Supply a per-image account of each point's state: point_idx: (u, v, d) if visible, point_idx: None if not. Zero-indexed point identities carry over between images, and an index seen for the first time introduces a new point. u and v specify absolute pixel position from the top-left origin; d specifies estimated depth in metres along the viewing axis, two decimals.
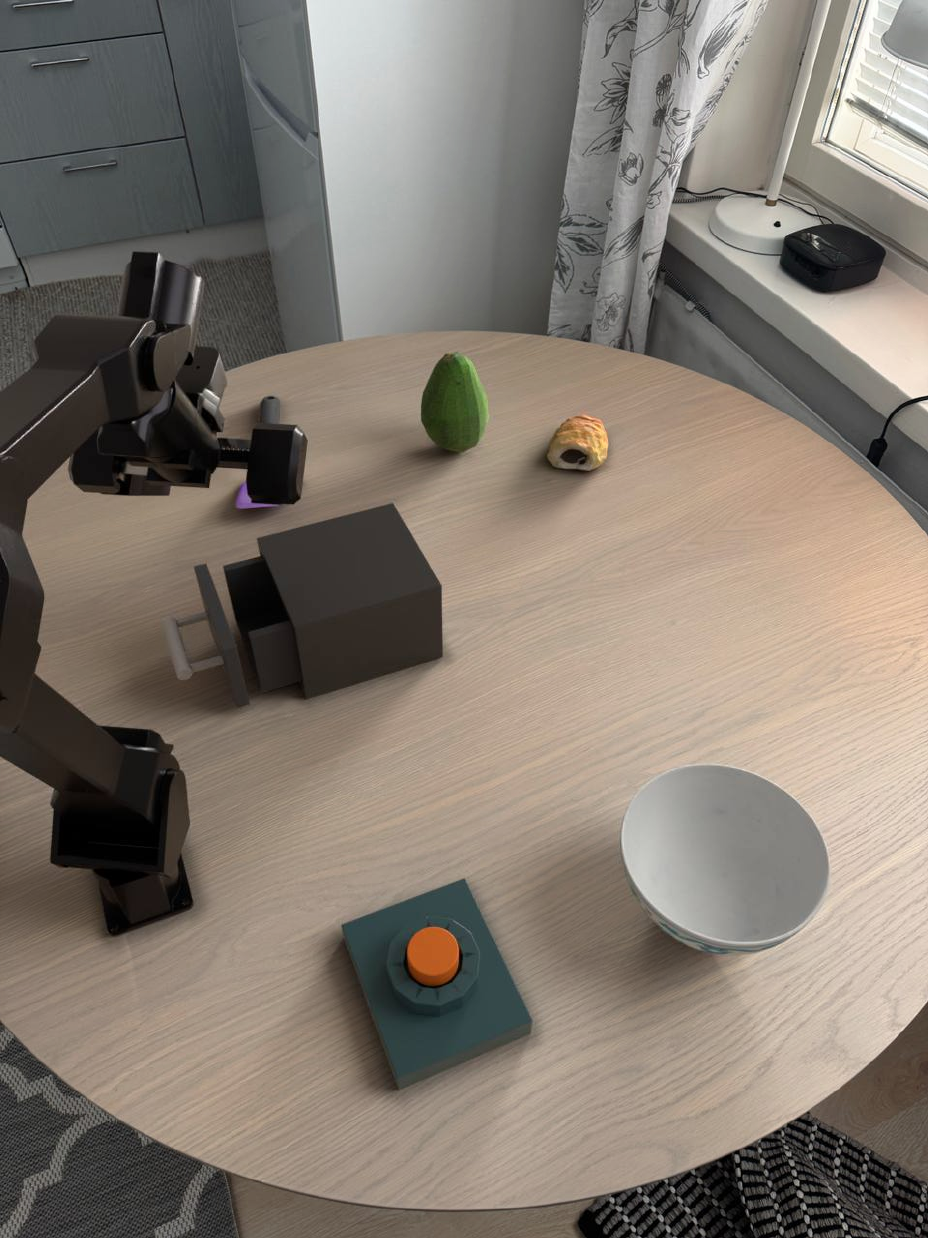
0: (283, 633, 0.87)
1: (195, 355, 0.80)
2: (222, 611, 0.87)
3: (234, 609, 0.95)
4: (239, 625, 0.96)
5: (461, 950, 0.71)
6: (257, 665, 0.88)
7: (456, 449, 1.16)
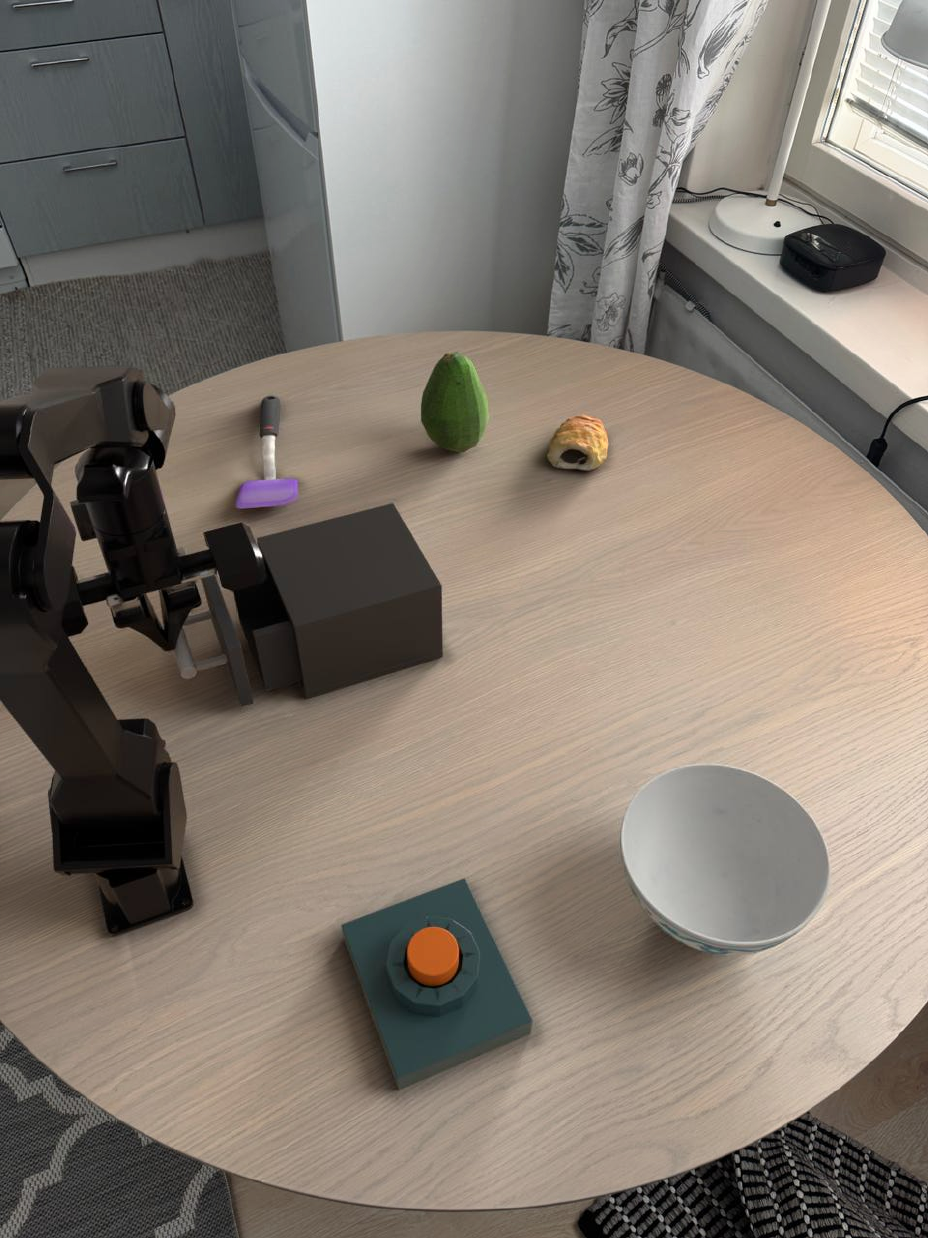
0: (287, 631, 0.87)
1: None
2: (226, 610, 0.88)
3: (238, 608, 0.95)
4: (243, 624, 0.96)
5: (461, 950, 0.71)
6: (261, 664, 0.88)
7: (456, 449, 1.16)
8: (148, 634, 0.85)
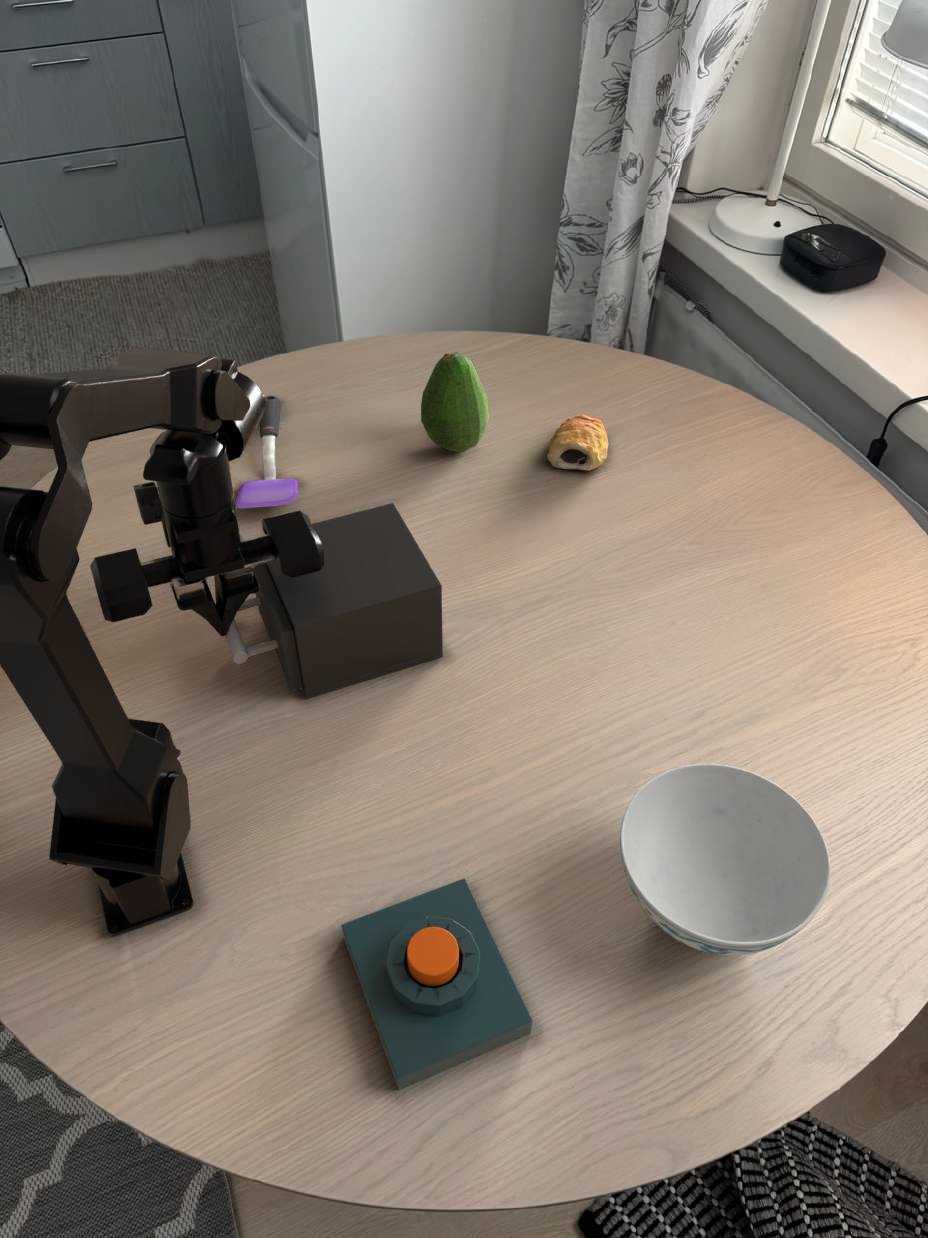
0: None
1: None
2: (277, 596, 0.89)
3: None
4: None
5: (461, 950, 0.71)
6: None
7: (456, 449, 1.16)
8: (208, 617, 0.86)
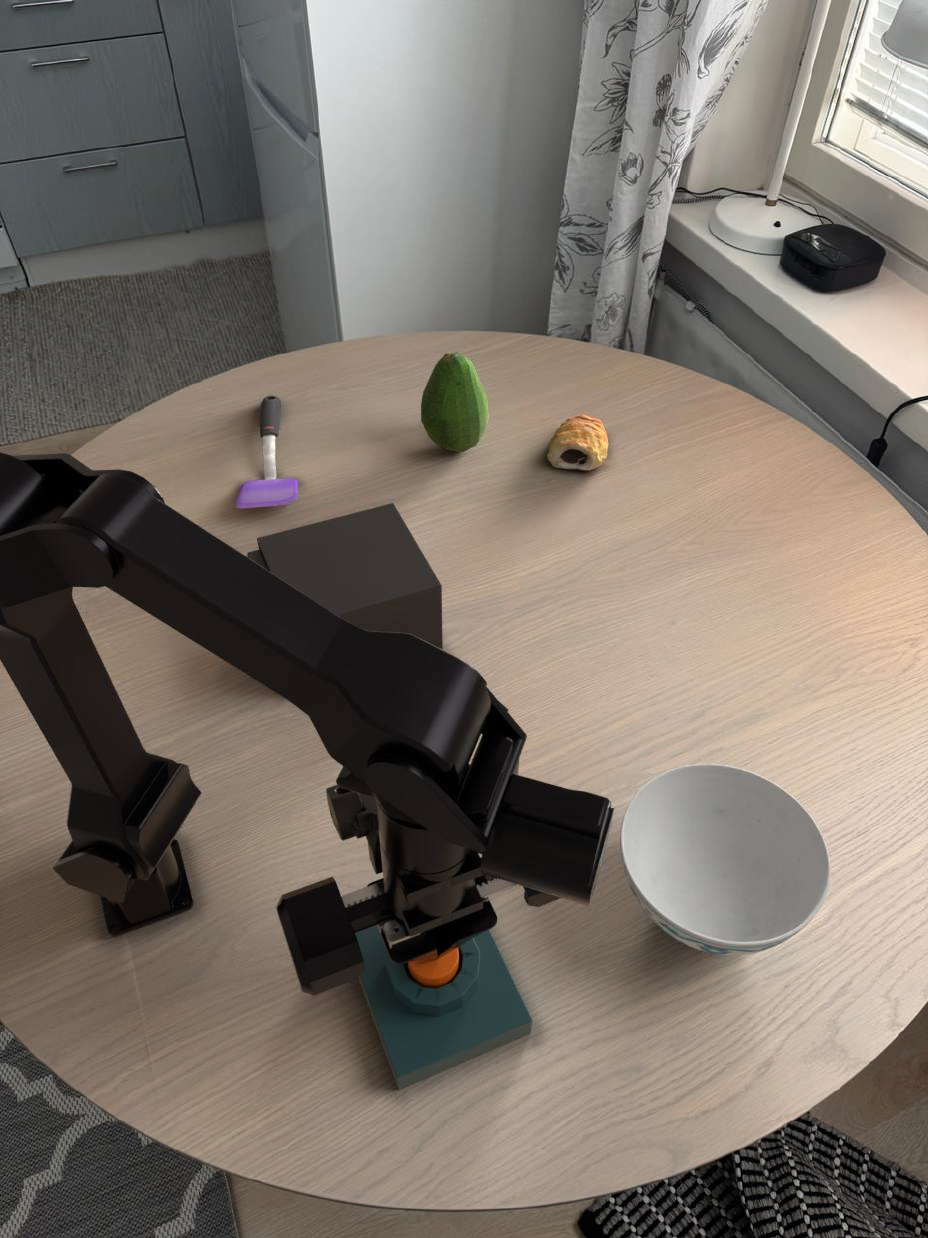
0: None
1: None
2: None
3: None
4: None
5: (461, 950, 0.71)
6: None
7: (456, 449, 1.16)
8: (423, 959, 0.65)
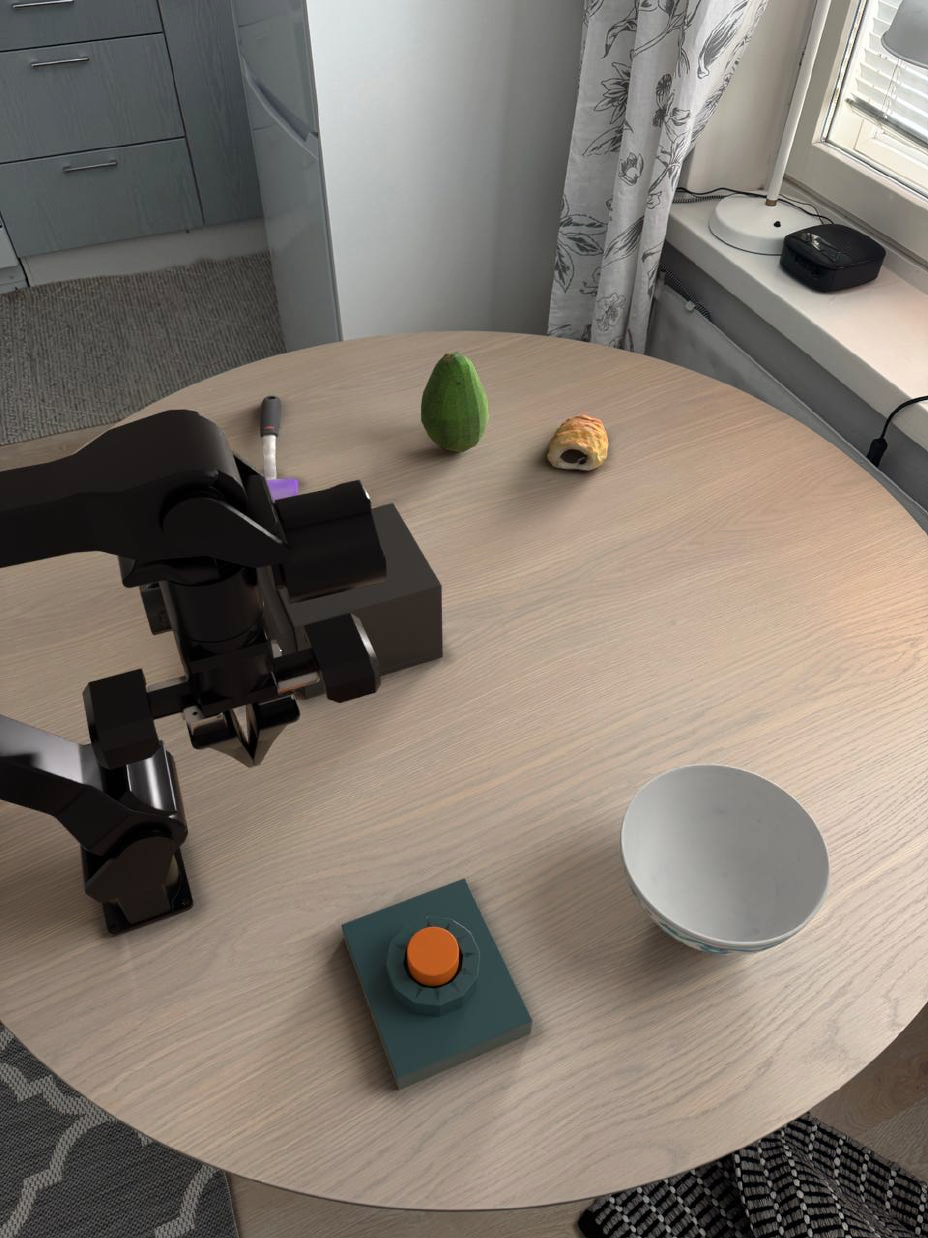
0: None
1: None
2: (277, 596, 0.89)
3: None
4: None
5: (461, 950, 0.71)
6: None
7: (456, 449, 1.16)
8: (231, 753, 0.67)
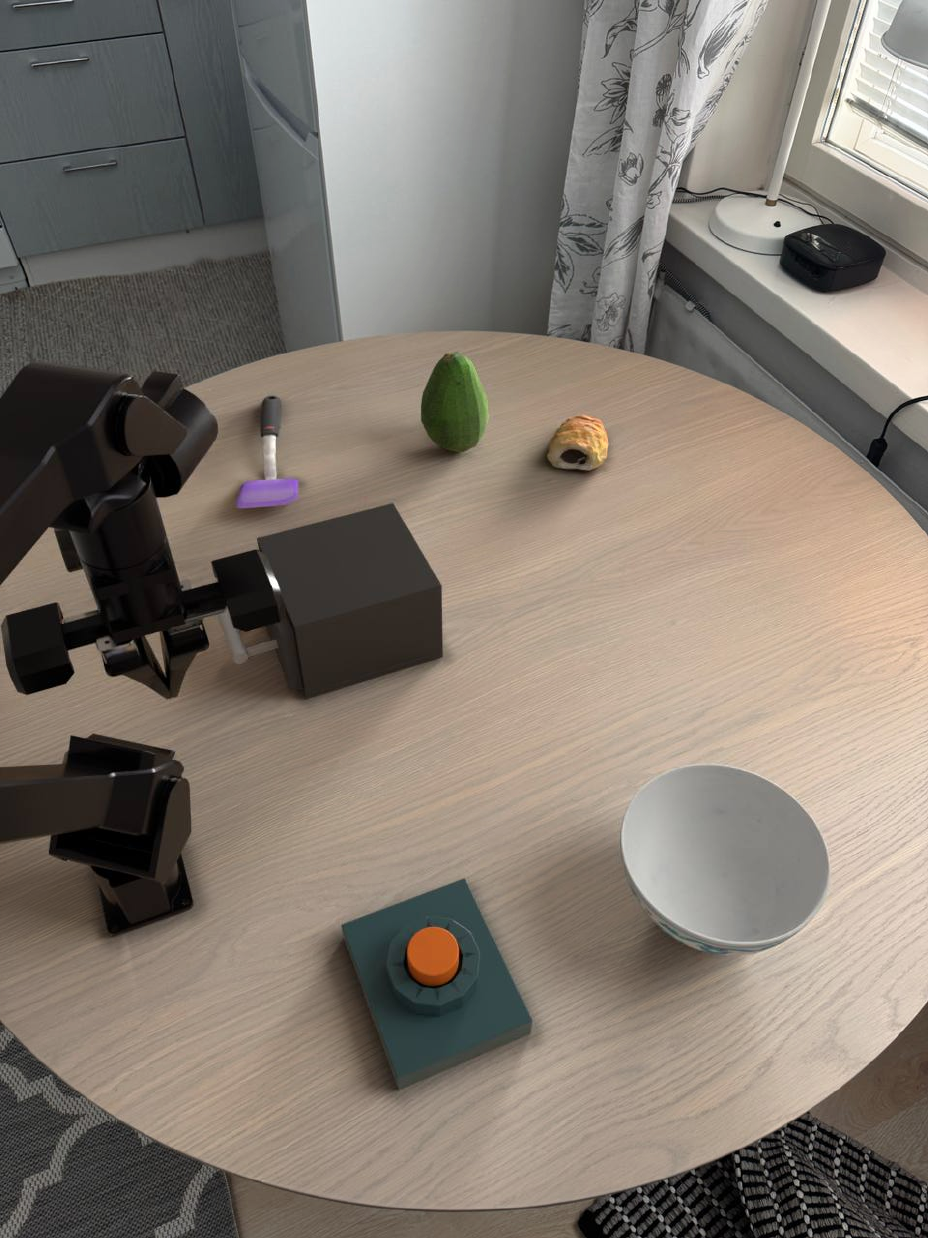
0: None
1: None
2: None
3: None
4: None
5: (461, 950, 0.71)
6: None
7: (456, 449, 1.16)
8: (146, 682, 0.72)
